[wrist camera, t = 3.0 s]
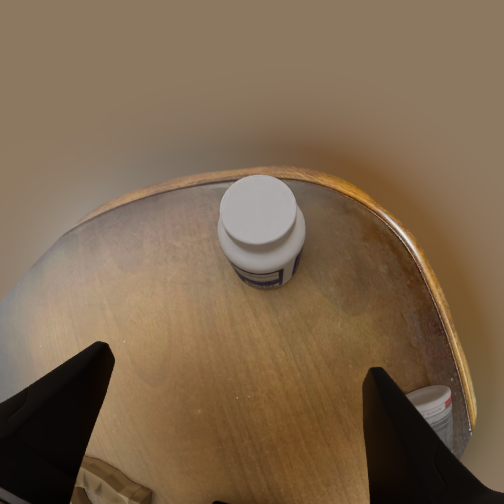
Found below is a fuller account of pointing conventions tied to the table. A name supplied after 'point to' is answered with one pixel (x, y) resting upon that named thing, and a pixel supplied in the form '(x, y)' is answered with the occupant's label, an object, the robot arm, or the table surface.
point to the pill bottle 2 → (435, 410)
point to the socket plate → (107, 485)
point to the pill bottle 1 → (261, 231)
